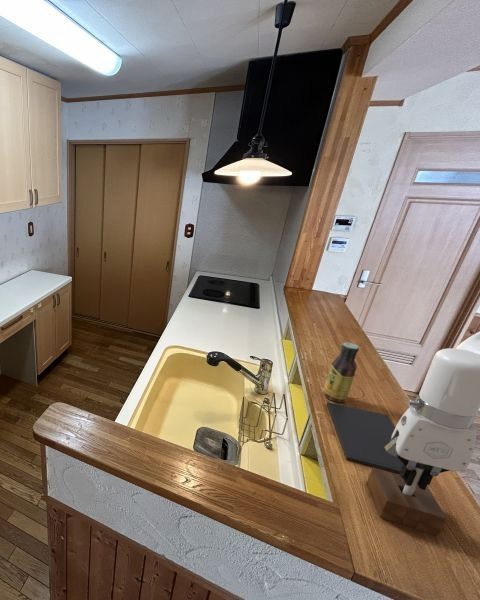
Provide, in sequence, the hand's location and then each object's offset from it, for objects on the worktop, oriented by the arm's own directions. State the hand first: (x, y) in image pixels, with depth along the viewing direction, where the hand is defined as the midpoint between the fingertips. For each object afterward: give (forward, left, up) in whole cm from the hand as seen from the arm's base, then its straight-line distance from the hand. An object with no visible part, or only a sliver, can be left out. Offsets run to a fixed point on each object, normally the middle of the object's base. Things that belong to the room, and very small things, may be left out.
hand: (412, 481), depth 68 cm
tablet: (0, -23, -8) cm, 24 cm away
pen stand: (0, 0, -8) cm, 8 cm away
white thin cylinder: (0, 0, -6) cm, 6 cm away
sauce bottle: (+4, -40, -8) cm, 41 cm away
